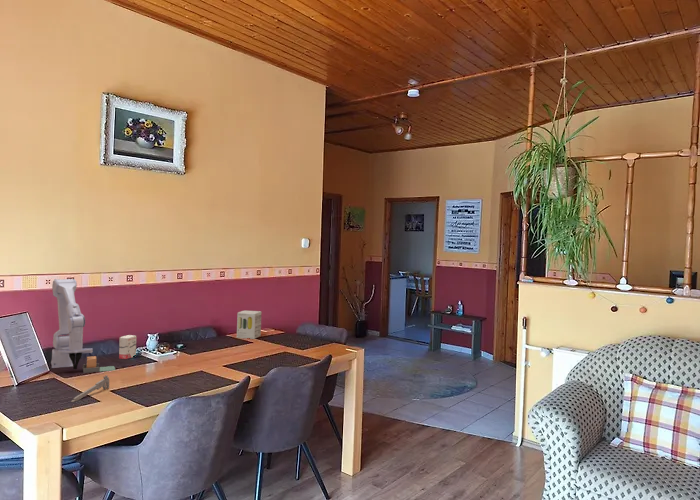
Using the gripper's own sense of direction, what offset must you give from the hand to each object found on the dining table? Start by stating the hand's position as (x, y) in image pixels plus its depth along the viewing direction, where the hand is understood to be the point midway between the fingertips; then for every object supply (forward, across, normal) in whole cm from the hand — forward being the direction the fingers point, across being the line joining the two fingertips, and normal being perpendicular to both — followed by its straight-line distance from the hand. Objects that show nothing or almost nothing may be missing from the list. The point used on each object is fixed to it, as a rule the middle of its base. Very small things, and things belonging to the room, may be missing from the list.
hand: (75, 368), depth 238 cm
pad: (+2, +14, 0) cm, 14 cm away
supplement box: (+2, +106, +59) cm, 122 cm away
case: (+2, +7, +3) cm, 8 cm away
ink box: (+2, +26, +23) cm, 34 cm away
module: (+1, +7, 0) cm, 7 cm away
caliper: (+2, +5, -41) cm, 41 cm away
